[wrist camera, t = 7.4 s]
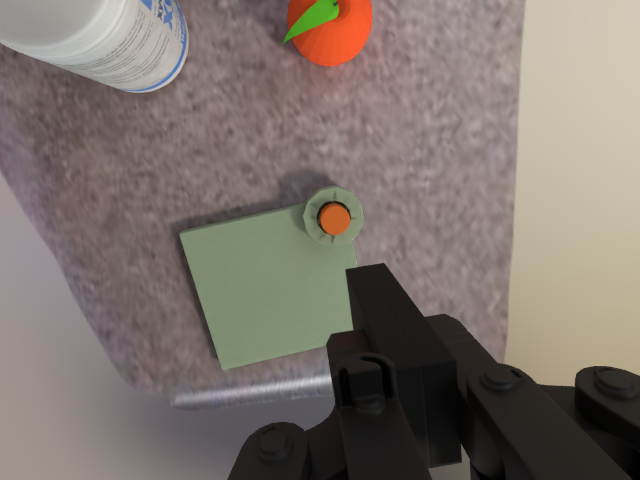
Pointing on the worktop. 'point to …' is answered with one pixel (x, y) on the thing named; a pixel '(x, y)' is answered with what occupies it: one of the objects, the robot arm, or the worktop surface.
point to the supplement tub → (101, 38)
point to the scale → (274, 278)
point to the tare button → (334, 219)
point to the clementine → (329, 29)
